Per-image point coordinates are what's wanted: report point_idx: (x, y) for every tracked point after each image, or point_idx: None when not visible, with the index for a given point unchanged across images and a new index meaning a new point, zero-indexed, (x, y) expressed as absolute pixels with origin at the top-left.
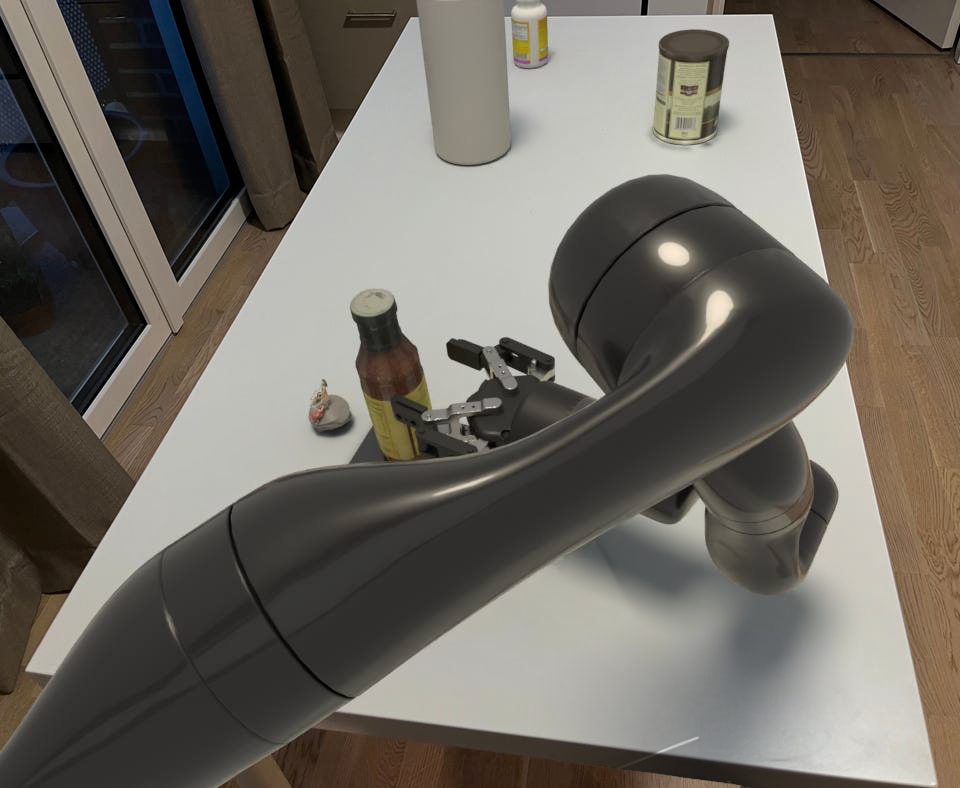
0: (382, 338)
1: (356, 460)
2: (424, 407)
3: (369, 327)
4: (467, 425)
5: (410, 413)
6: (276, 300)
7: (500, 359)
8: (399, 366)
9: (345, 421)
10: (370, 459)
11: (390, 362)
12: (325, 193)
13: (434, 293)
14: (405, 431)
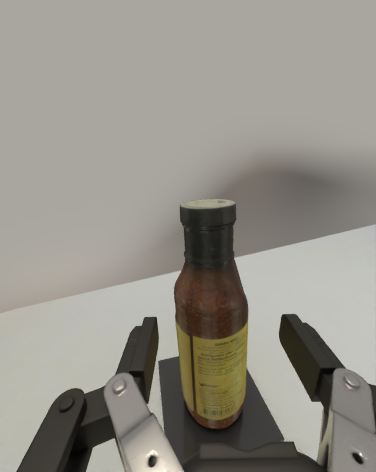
0: (193, 247)
1: (174, 361)
2: (140, 366)
3: (183, 224)
4: (283, 439)
5: (127, 355)
6: (245, 261)
7: (372, 435)
8: (199, 295)
9: None
10: (180, 371)
11: (192, 283)
12: (309, 241)
13: (340, 306)
14: (189, 376)
